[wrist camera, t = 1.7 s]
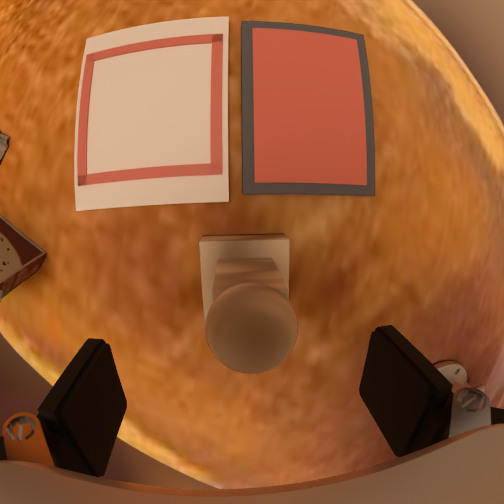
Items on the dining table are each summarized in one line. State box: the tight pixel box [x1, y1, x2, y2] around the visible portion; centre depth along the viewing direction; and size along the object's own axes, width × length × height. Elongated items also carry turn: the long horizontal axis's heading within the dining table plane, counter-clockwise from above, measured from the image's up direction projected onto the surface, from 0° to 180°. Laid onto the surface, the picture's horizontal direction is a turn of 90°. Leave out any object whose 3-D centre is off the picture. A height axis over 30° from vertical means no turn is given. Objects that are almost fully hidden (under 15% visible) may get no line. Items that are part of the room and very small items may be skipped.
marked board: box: [74, 17, 229, 211], centre depth 18 cm, size 12×15×1 cm
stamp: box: [199, 234, 298, 373], centre depth 17 cm, size 6×6×11 cm
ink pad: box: [241, 21, 375, 196], centre depth 19 cm, size 10×14×1 cm
